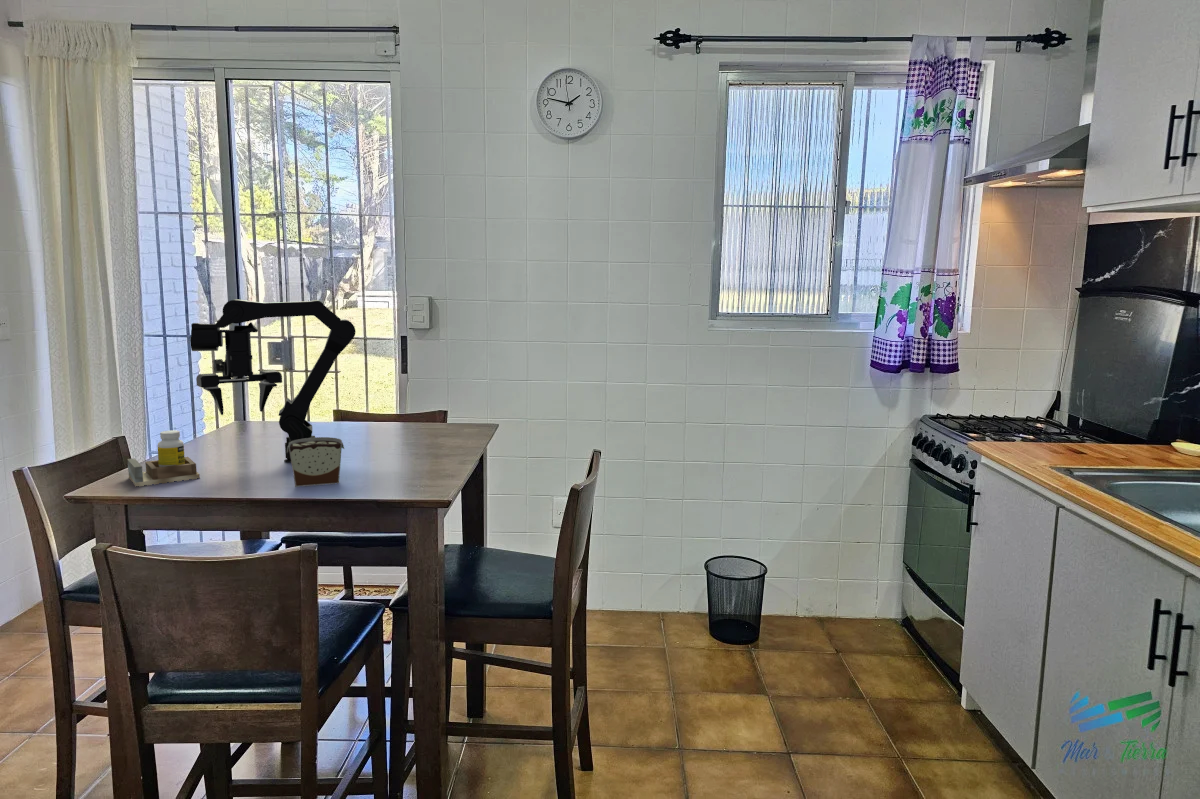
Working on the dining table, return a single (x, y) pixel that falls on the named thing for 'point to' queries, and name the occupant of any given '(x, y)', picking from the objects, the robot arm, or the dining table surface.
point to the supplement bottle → (170, 449)
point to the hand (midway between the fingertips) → (241, 413)
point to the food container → (315, 460)
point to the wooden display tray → (161, 472)
